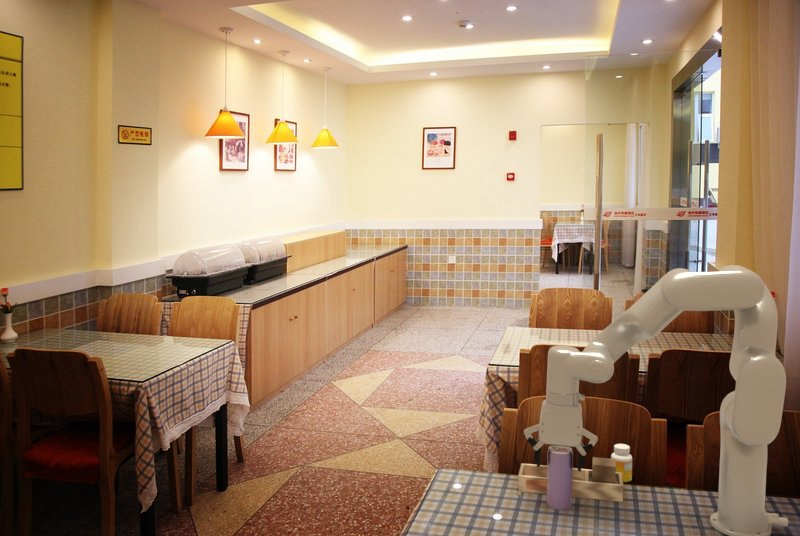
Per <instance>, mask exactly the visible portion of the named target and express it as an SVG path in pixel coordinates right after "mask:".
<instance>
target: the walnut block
mask: <svg viewBox="0 0 800 536" xmlns="http://www.w3.org/2000/svg"><path fill="white" fill-rule="evenodd" d="M591 467H592V469H591V470H592V482H599V483H610V484H616V463H615V459H611V458H607V457H596V456H592V466H591Z"/></svg>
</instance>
